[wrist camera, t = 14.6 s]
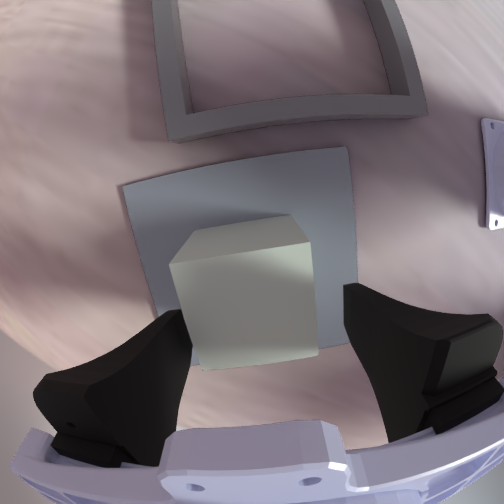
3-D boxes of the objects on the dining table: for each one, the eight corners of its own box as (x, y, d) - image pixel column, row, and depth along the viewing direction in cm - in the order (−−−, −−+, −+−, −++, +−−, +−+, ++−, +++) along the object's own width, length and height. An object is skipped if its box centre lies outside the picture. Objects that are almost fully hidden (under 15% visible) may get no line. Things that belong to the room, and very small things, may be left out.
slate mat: (344, 146, 13) (347, 146, 13) (354, 337, 17) (356, 341, 17) (125, 185, 14) (122, 186, 14) (179, 362, 18) (177, 366, 17)
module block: (290, 214, 14) (310, 241, 9) (300, 300, 16) (318, 355, 11) (194, 230, 14) (168, 264, 10) (214, 313, 16) (202, 370, 11)
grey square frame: (355, -44, 9) (364, -59, 7) (409, 118, 13) (428, 115, 11) (158, -30, 9) (150, -46, 7) (179, 143, 13) (168, 140, 11)
